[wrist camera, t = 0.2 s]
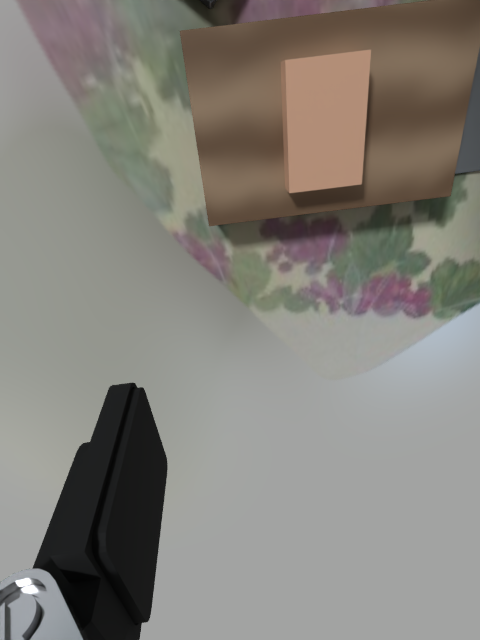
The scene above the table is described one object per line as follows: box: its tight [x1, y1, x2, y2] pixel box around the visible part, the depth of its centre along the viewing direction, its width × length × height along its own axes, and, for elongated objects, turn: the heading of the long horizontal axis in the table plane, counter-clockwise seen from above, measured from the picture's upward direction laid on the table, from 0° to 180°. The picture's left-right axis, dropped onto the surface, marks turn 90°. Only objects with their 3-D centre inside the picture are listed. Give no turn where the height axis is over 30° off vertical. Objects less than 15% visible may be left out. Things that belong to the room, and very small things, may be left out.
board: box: [180, 0, 480, 226], centre depth 31 cm, size 14×22×4 cm, turn 96°
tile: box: [280, 50, 371, 193], centre depth 29 cm, size 9×6×2 cm, turn 6°
